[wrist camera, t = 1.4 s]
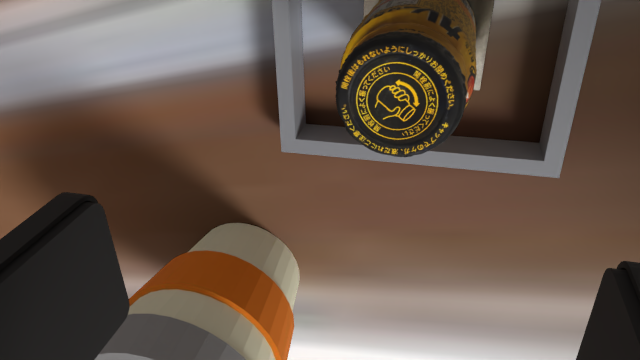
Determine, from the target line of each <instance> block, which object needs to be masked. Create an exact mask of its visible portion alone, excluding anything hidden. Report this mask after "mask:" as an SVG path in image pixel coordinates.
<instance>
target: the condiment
mask: <svg viewBox="0 0 640 360" xmlns="http://www.w3.org/2000/svg"><path fill="white" fill-rule="evenodd" d="M493 6H494V0H364V17H363V20H362V23H361V24H360V25H359V26H358V27H357V29H356V30H355V31H354V33H353V34H352V36H351V38H350V41H349V43H348V44H347V46H346V50H345V52H344V54H343V57H342V60H341V70H339V76H338V78H337V81H336V103H337V110H338V113H339V115H340V117H341V118H342V120H343V122H344V124H345V127H346V131H347V132H348V133H349V134H350V135H351V136H352V137H353V138H354V139H355V140H356V141H357V142H359V143H360V144H362V145H363V146H365V147H366V148H368V149H370V150H372V151H374V152H376V153H380V154H384V155H390V156H395V157H411V156H413V155H419V154H423V153H425V152H427V151H429V150H431V149H433V148H435V147H436V146H438V145H439V144H442V143H443V142H445V141H446V140H447V138H448V137H449V136H450V135H451V134H452V133H453V132H454V130H455V129H456V127H457V126H458V124H459V122H460V120H461V118H462V116H463V112H464V109H465V107H466V106H467V104H468V102H469V100H470V98H471V95H472V92H473V90H480V85H481V79H482V73H483V66H484V60H485V54H486V48H487V41H488V35H489V29H490V23H491V18H492V11H493Z"/></svg>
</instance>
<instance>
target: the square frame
mask: <svg viewBox="0 0 640 360" xmlns="http://www.w3.org/2000/svg"><path fill="white" fill-rule="evenodd" d="M600 4H601V0H569V2H568V7H567V12H566V17H565V22H564V26H563V31H562V36H561V41H560V46H559V50H558V55H557V60H556V65H555V70H554V75H553V79H552V84H551V89H550V94H549V99H548V103H547V108H546V113H545V118H544V123H543V127H542V132H541V137H540V142H539V143H536V142H523V141H511V140H499V139H486V138H474V137H462V136H449V137H448V138H447V140H446V141H445V142H443V143H442V144H439V145H438V146H436V147H435V148H433V149H431V150H429V151H427V152H425V153H423V154H419V155H413V156H411V157H395V156H390V155H384V154H380V153H376V152H374V151H372V150H370V149H368V148H366V147H365V146H363V145H362V144H360V143H359V142H357V141H356V140H355V139H354V138H353V137H352V136H351V135H350V134H349V133H348V132H347V131H346V127H338V126H326V125H314V124H306V114H305V89H304V63H303V38H302V12H301V0H272V15H273V30H274V45H275V60H276V75H277V90H278V105H279V120H280V136H281V151H282V152H290V153H300V154H311V155H321V156H332V157H343V158H353V159H364V160H374V161H385V162H395V163H406V164H417V165H427V166H438V167H448V168H459V169H469V170H480V171H491V172H501V173H512V174H522V175H533V176H543V177H554V178H559V176H560V172H561V168H562V164H563V160H564V155H565V151H566V147H567V143H568V138H569V134H570V130H571V126H572V122H573V117H574V113H575V109H576V105H577V101H578V96H579V92H580V88H581V84H582V80H583V75H584V71H585V67H586V63H587V59H588V54H589V50H590V46H591V42H592V38H593V33H594V29H595V25H596V21H597V16H598V12H599V8H600Z"/></svg>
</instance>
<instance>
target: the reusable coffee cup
mask: <svg viewBox="0 0 640 360" xmlns="http://www.w3.org/2000/svg"><path fill="white" fill-rule="evenodd" d="M299 279H300V276H299V268H298V265H297V262H296V260H295V258H294V256H293V254H292V252H291V251H290V250H289V249H288V247H287V246H286V245H285V244H284V243H283V242H282V241H281V240H280V239H278V238H277V237H276V236H274V235H273V234H271V233H270V232H268V231H266V230H264V229H262V228H259V227H257V226H253V225H250V224H244V223H227V224H224V225H220V226H218V227H216V228H214V229H212V230H211V231H210V232H209V233H207V234H206V235H205V236H204V237H203V238H202V239H201V240H200V241H199V242H198V243H197V244H196V245H195V246H194V247H193V248H191V249H190V250H189V251H188V252H187V253H184V254H181V255H179V256H177V257H175V258H173V259H172V260H171V261H170V262H169V263H168V264H167V265H165V266H164V267H163V268H162V269H161V270H160V271H159V272H158V273H157V274H156V275H155V276H154V277H152V278H151V279H150V280H149V281H148V282H147V283H146V284H145V285H144V286H143V287H142V288H141V289H139V290H138V291H137V292H136V293H135V294H134V295H133V296H132V297H131V298H130V299H129V304H130V306H129V313H128V315H127V318H126V319H125V321H124V322H123V324H122V325H121V326H120V327H119V329H118V330H117V331H116V333H115V334H114V335H113V336H112V338H111V339H110V340H109V342H108V343H107V344H106V345H105V347H104V348H103V349H102V351H101V352H100V353H99V354H98V356H97V357H96V358H95V360H287V357H288V352H289V348H290V344H291V339H292V334H293V329H294V319H293V313H292V311H293V306H294V302H295V298H296V294H297V289H298V285H299Z"/></svg>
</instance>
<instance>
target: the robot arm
mask: <svg viewBox="0 0 640 360" xmlns="http://www.w3.org/2000/svg"><path fill="white" fill-rule="evenodd" d="M129 306H130V304H129V299H128V296H127V292H126V288H125V285H124V281H123V277H122V274H121V270H120V266H119V263H118V259H117V255H116V252H115V248H114V244H113V241H112V237H111V234H110V230H109V226H108V223H107V219H106V215H105V212H104V209H103V207H102V206H101V205H100V204H98V202H97V200H96V199H95V198H94V197H93V196H90V195H84V194H76V193H68V192H66V193H61V194H59V195H57V196H56V197H55V198H54V199H52V200H51V201H50V202H48V203H47V204H46V205H44V206H43V207H42V208H41V209H39V210H38V211H37V212H35V213H34V214H33V215H31V216H30V217H29V218H28V219H26V220H25V221H24V222H22V223H21V224H20V225H18V226H17V227H16V228H15V229H13V230H12V231H11V232H9V233H8V234H7V235H5V236H4V237H3V238H2V239H0V360H95V358H96V357H97V356H98V354H99V353H100V352H101V351H102V349H103V348H104V347H105V345H106V344H107V343H108V342H109V340H110V339H111V338H112V336H113V335H114V334H115V333H116V331H117V330H118V329H119V327H120V326H121V325H122V324H123V322H124V321H125V319H126V318H127V315H128V313H129ZM576 360H640V263H637V262H628V261H622V262H621V263H620V264H619V265H618V267H617V269H612V268H608V269H606V271H605V273H604V275H603V278H602V281H601V284H600V287H599V290H598V293H597V296H596V300H595V303H594V306H593V309H592V312H591V315H590V318H589V321H588V324H587V327H586V330H585V334H584V337H583V340H582V343H581V346H580V349H579V352H578V355H577V358H576Z"/></svg>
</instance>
